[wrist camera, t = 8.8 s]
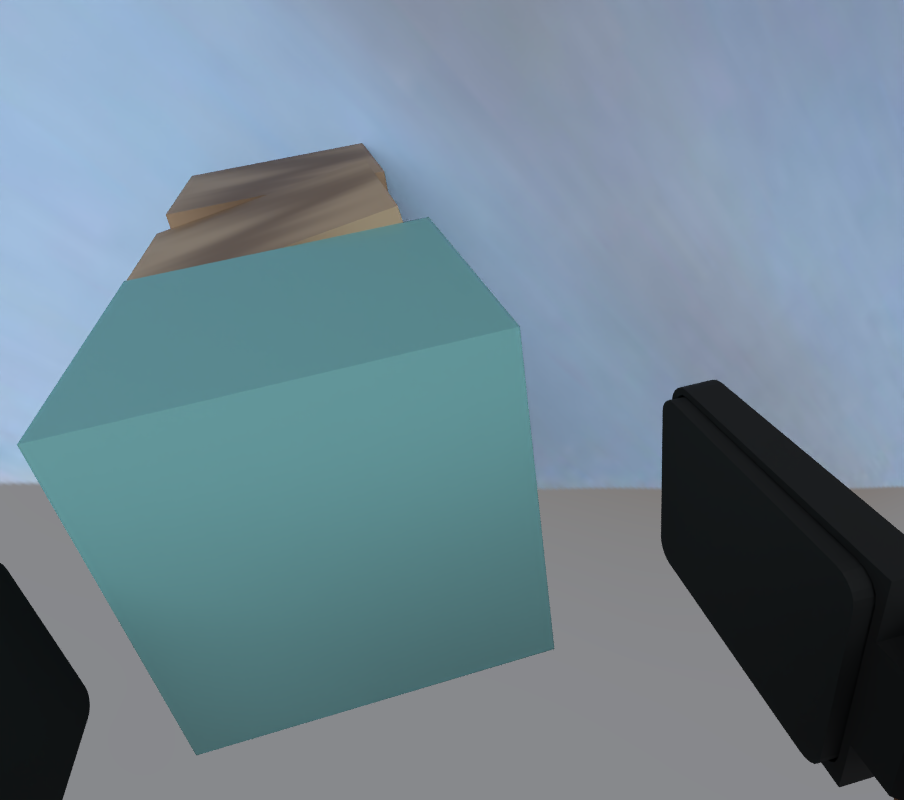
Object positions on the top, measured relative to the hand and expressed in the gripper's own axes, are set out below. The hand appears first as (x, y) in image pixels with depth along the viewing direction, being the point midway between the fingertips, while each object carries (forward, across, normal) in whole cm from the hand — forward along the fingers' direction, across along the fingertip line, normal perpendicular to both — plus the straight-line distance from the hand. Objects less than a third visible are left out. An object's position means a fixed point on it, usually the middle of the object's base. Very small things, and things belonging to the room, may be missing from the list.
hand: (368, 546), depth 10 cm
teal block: (+6, +1, 0) cm, 6 cm away
